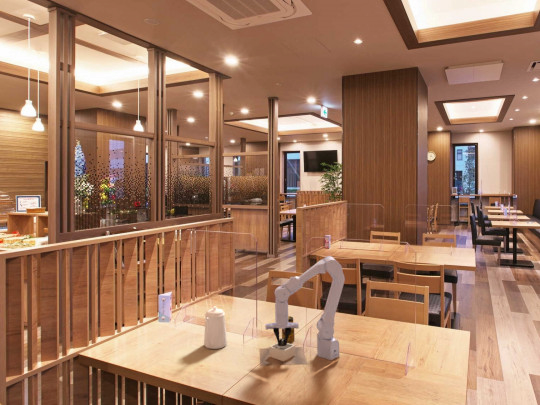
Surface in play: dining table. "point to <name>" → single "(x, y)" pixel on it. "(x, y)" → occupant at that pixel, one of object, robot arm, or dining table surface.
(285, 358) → the press housing
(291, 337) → the condiment
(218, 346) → the coffeepot
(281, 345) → the plunger
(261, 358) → the board
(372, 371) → the dining table surface
